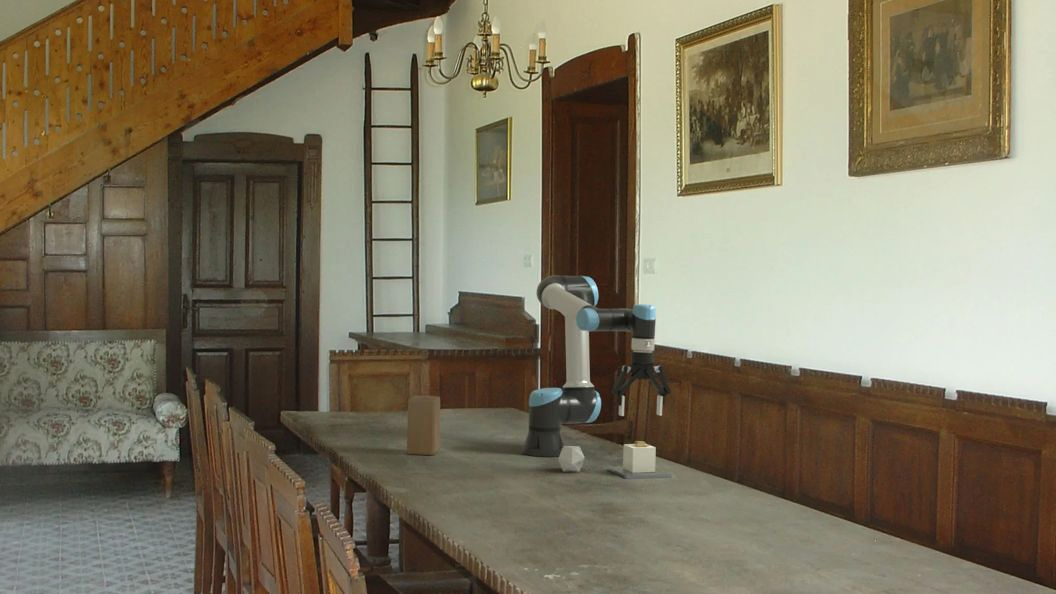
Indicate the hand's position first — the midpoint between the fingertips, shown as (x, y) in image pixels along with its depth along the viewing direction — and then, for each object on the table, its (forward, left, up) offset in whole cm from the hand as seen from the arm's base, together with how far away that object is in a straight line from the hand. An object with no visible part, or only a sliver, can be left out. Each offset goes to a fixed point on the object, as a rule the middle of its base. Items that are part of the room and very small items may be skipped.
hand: (640, 415), depth 364 cm
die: (-21, +7, -19) cm, 30 cm away
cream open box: (0, -1, -18) cm, 18 cm away
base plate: (0, -1, -19) cm, 19 cm away
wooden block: (-62, +48, -19) cm, 81 cm away
